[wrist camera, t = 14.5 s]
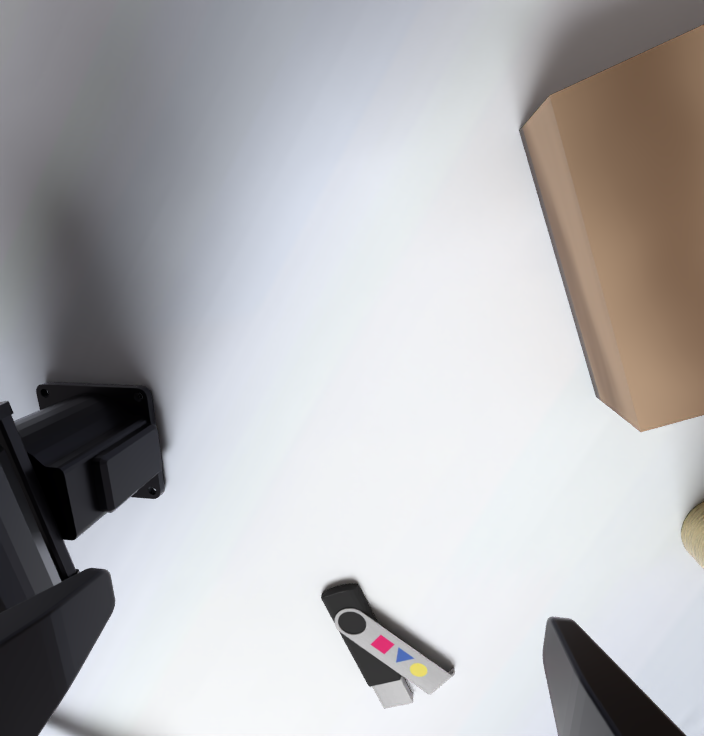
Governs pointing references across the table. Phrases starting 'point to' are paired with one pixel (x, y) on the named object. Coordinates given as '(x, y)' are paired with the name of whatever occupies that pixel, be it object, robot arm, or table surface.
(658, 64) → the bore block
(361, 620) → the usb flash drive
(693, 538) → the brass pin
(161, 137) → the table surface
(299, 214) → the table surface
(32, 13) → the table surface
